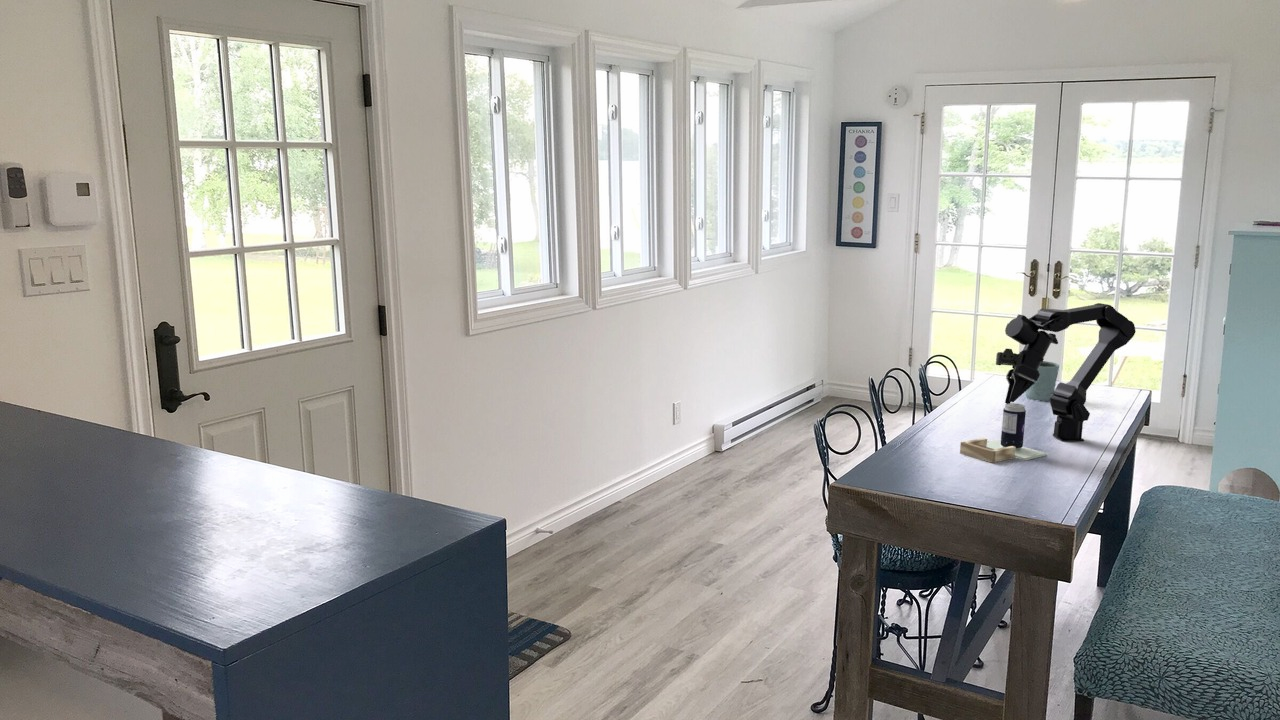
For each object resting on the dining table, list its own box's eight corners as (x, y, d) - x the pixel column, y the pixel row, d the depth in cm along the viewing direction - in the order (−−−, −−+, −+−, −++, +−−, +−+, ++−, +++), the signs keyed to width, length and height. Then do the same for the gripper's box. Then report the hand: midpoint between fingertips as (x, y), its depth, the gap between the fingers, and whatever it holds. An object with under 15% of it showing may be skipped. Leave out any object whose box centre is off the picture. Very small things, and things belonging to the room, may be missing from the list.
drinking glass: (1032, 393, 337) (1035, 359, 335) (1061, 398, 330) (1064, 363, 328) (1018, 397, 330) (1021, 363, 328) (1047, 403, 323) (1051, 367, 321)
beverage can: (1024, 451, 263) (1028, 408, 261) (1002, 450, 265) (1005, 407, 262) (1020, 446, 269) (1024, 403, 267) (998, 444, 270) (1002, 402, 268)
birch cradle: (982, 448, 268) (983, 437, 268) (1014, 457, 260) (1015, 446, 259) (959, 452, 264) (960, 442, 263) (991, 462, 255) (992, 451, 254)
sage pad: (997, 441, 276) (997, 439, 276) (1046, 455, 262) (1046, 453, 262) (975, 445, 271) (975, 443, 271) (1024, 460, 258) (1025, 458, 258)
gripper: (1001, 343, 281) (977, 392, 281) (1010, 335, 263) (984, 387, 263) (1039, 360, 278) (1014, 409, 278) (1051, 352, 260) (1024, 405, 260)
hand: (1008, 402), depth 270 cm, fingers open, 9 cm apart
